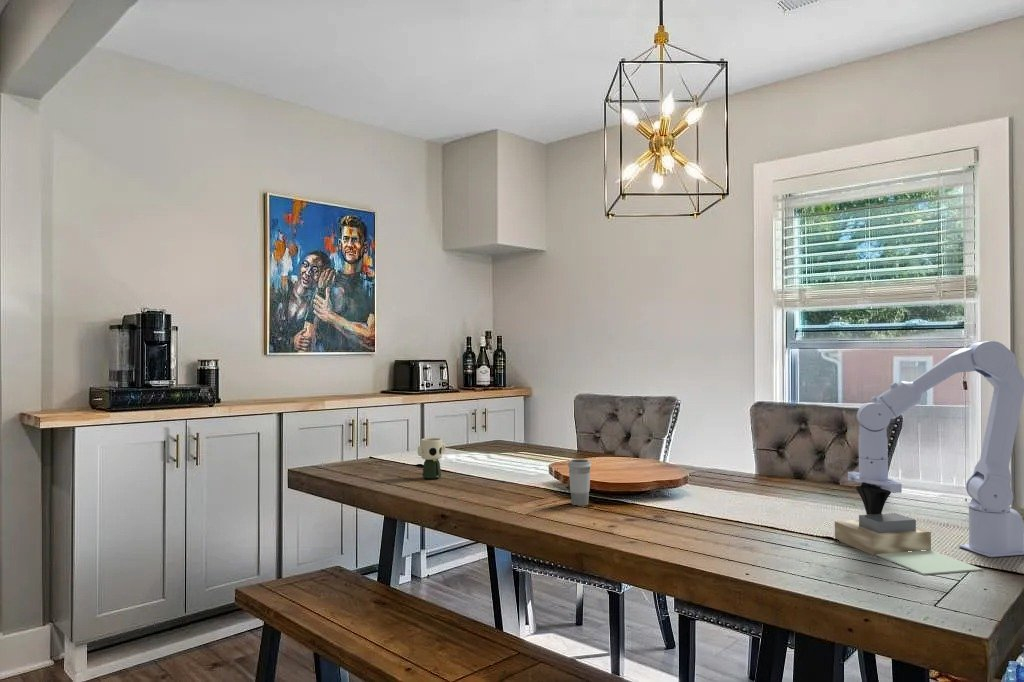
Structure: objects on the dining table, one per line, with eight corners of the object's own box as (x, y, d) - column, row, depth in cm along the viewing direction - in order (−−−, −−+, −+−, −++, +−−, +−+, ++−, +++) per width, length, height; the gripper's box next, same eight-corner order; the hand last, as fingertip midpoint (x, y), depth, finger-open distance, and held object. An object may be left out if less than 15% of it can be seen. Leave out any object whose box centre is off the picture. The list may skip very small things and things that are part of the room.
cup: (588, 507, 187) (588, 463, 187) (564, 506, 189) (564, 462, 189) (594, 502, 194) (594, 459, 194) (571, 500, 196) (570, 458, 196)
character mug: (424, 482, 224) (424, 441, 224) (412, 479, 229) (411, 439, 229) (451, 477, 231) (451, 438, 231) (438, 474, 237) (438, 436, 237)
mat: (930, 551, 145) (930, 550, 145) (982, 570, 133) (982, 568, 133) (876, 555, 143) (876, 554, 143) (923, 575, 131) (923, 573, 131)
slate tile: (895, 523, 153) (895, 513, 153) (916, 531, 147) (915, 519, 147) (859, 526, 151) (858, 515, 151) (878, 533, 145) (878, 521, 145)
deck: (889, 535, 158) (889, 518, 158) (931, 550, 146) (930, 531, 146) (834, 539, 155) (834, 521, 155) (872, 554, 143) (872, 535, 143)
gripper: (835, 453, 159) (836, 512, 159) (880, 463, 145) (881, 528, 145) (862, 452, 161) (863, 510, 161) (910, 462, 146) (910, 526, 146)
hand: (873, 519), depth 153 cm, fingers closed
